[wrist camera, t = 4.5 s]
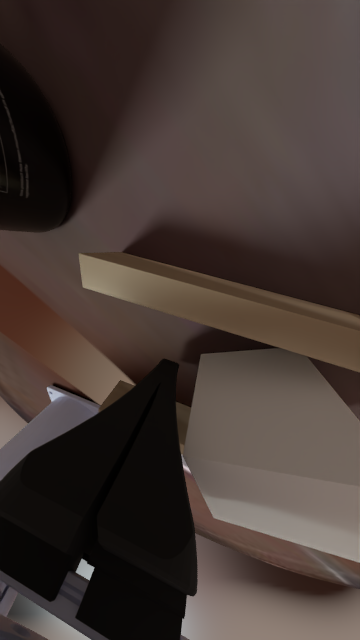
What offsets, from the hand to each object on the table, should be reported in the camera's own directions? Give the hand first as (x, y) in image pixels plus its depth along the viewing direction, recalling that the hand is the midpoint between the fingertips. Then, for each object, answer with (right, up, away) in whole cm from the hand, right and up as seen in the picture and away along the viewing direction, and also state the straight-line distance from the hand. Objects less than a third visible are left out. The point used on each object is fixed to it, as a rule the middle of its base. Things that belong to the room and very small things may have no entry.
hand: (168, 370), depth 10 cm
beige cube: (+6, -1, +1) cm, 6 cm away
